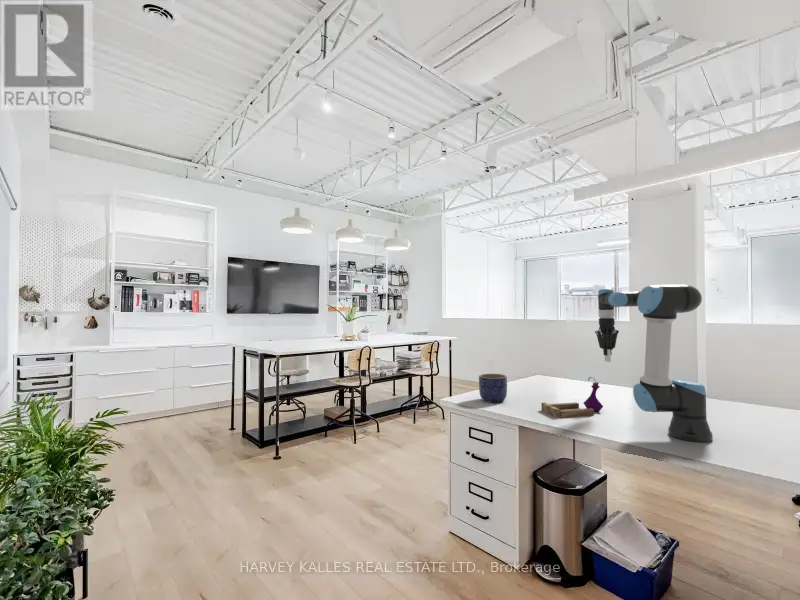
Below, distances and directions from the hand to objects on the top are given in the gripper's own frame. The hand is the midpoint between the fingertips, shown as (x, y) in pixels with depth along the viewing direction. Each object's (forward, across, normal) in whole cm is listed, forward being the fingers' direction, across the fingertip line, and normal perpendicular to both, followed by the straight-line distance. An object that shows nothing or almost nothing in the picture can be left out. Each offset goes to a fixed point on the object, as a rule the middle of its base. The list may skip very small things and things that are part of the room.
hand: (607, 361), depth 210 cm
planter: (+26, +52, -34) cm, 67 cm away
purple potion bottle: (+26, +10, 0) cm, 28 cm away
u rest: (+26, +25, 0) cm, 36 cm away
